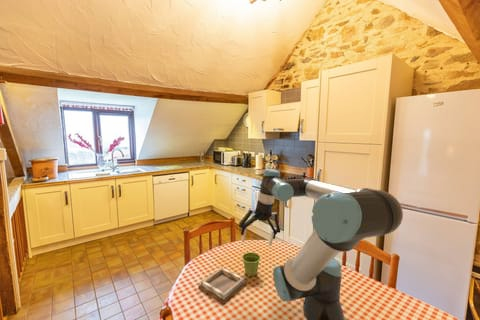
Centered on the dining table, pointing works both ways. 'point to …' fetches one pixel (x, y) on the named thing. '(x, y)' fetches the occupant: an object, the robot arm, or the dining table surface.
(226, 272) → the stand
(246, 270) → the plant pot
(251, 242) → the dining table surface
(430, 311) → the dining table surface
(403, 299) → the dining table surface
